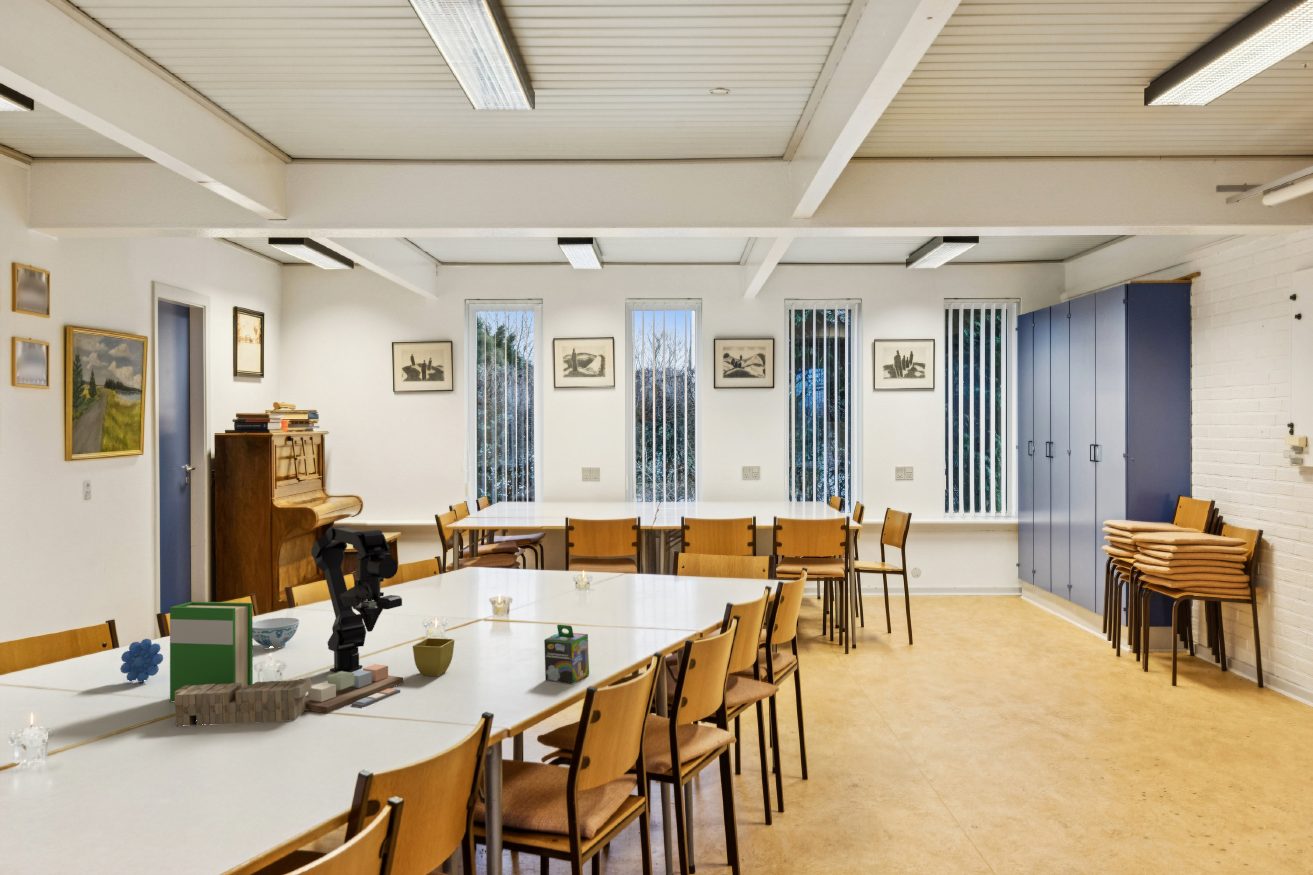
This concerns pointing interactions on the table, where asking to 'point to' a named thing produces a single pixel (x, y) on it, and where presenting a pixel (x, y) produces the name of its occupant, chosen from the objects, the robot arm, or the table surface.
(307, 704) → the brown wooden board
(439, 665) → the flower pot
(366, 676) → the key slate
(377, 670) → the key terracotta
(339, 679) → the key sage
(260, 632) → the chinaware
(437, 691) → the table surface
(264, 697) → the block tower
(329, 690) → the key cream
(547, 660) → the chalk box
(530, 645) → the table surface
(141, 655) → the blue flower ornament
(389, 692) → the strip
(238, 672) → the hardback book
